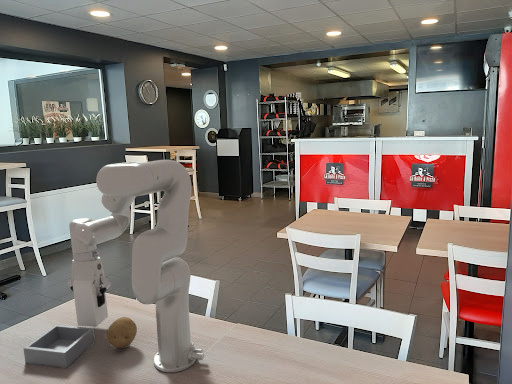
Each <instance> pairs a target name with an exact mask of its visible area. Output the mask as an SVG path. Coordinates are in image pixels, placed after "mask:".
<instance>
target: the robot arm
mask: <svg viewBox="0 0 512 384" xmlns="http://www.w3.org/2000/svg"><path fill="white" fill-rule="evenodd" d="M95 178H96V180H95V182H96V187H97V189H98V190H99V192H101V193H102V196H101V204H102V205H103V207H104V208H105V209H106V210H107V211H108V212H110V213H111V215H109V216H106V217H104V218H103V217H102V218H99V219H98V218H97V219H96V220H94V219H92V218H90V217H80V218H76V219H75V218H74V219H73V220H70V222H69V226H68V227H69V234H70V235H69V236H70V243H71V249H72V250H71V251H72V258H73V259H72V260H71V278H70V279H68V281H67V282H66V285H67V286H68V287H69V288H70V290H71V291H72V292H73V293H74V291H73V282H74V280H82V281H92V280H93V283H94V287H95V289H96V292H97V294H98V296H97V303H98V307H101V306H102V305H103V304H105V296H104V293H105V294H106V292H107V291H108V289H109V288H110V287H111V285H112V283H111V281H109V280H108V279H107V278H106V274H105V269H104V265H103V261H102V259H101V257H100V255H101V253H100V251H98V247H97V245H99V244H101V243H105V242H108V241H110V240H115V239H118V237H120V236H121V235H122V234H123V233H124V232H125V231H126V229H127V228H128V226H129V225H130V223H131V219H132V213H131V212H132V211H131V209H130V207H131V206H132V203H133V202H134V200H135V199H136V198H137V197H140V196H146V195H151V194H154V193H159V192H160V193H161V192H164V193H163V195H162V198H161V199H160V201H159V204H158V207H157V217H156V218H157V219H156V225H155V227H153V228H151V229H148V230H145V231H143V232H141V233H140V234H139V235H137V236H136V238H135V240H134V242H133V245H132V251H131V289H132V294H133V295H134V297H135V298H136V300H137V301H138V302H139V303H141V305H142V304H143V305H153V304H155V319H156V320H155V321H156V333H157V334H156V336H157V346H158V347H157V349H158V351H157V352H156V354H155V355H154V357H153V365H154V367H155V368H156V369H158V370H159V371H161V372H164V373H165V372H166V373H177V372H181V371H184V370H187V369H189V368H191V366H192V365H194V364H195V363H196V361H203V360H204V357H205V353H204V352H203V351H204V349H203V348H196V347H195V343H194V342H192V341H191V325H190V324H191V323H190V322H191V320H190V308H189V305H190V303H189V301H190V300H189V299H190V298H189V295H190V294H189V291H190V283H191V269H190V266H189V264H188V263H187V261H186V260H184V259H182V258H181V257H178V256H180V255H181V254H183V253H185V251H186V250H187V245H188V233H189V232H188V231H189V214H190V213H189V211H190V202H191V197H192V190H193V189H192V179H191V176H190V173H189V171H188V169H186V167H185V166H184V165H183V164H181V163H180V162H179V161H176V160H173V159H158V160H152V161H145V162H134V161H127V162H119V163H111V164H106V165H104V166H102V167H101V168H100V170H99V171H98V172H97V175H96V177H95ZM100 281H101V282H102V284H104V285H105V286H104V287H103V285H102V284H101V282H100ZM99 284H100V285H99ZM99 287H100V289H99ZM100 290H101V291H100Z"/></svg>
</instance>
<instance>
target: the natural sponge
mask: <svg viewBox="0 0 512 384" xmlns="http://www.w3.org/2000/svg"><path fill="white" fill-rule="evenodd" d="M137 331H138V328H137V324H136V322H135V321H134V320H133V319H131V318H129V317H126V316H123V317H120V318H117V319H116V320H115V321H113V322H112V323H111V324H110V326H108V329H107V333H106V337H107V342H108V343H109V345H110V346H112V347H115V348H120V349H125V348H128V347H129V346H130V345H131V344H132V343H133V341H134V340H135V338H136V336H137Z"/></svg>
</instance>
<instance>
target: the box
mask: <svg viewBox="0 0 512 384" xmlns="http://www.w3.org/2000/svg"><path fill="white" fill-rule="evenodd" d="M95 343H96V339H95V330H94V327H87V326H74V325H64V324H54V325H53V326H52V327H50V328H49V329H48V330H46V331H45V332H44V333H42V334H41V335H40V336H38V337H37V338H36V339H34V340H33V341H31V342H29V344H27V345H26V346H24V347H23V355H24V361H25V364H29V365H37V366H45V367H52V368H59V369H68V368H69V367H70V366H71V365H72V364H73V363H75V361H76V360H78V359H79V358H80V357H81V356H82V355H83V354H84V353H85V352H86V351H87V350H88V349H90V348H91V347H92V346H93V345H94V344H95Z"/></svg>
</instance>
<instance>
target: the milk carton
mask: <svg viewBox="0 0 512 384" xmlns="http://www.w3.org/2000/svg"><path fill="white" fill-rule="evenodd" d="M100 282H101V281H100ZM101 284H102V282H101ZM99 285H100V284H99ZM102 285H103V287H104V286H105V285H104V284H102ZM99 289H100V287H99ZM73 291H74V292H73ZM73 291H72V292H73V299H74V306H75V314H76V315H75V316H76V320H77V327H89V328H94V327H95V328H97V327H98V326H99V325H100V324H101V323H103V322H104V321H105V320H107V319H108V318H109V313H108V304H107V296H106V295H107V294H106V292H105V293H104V296H105V304H103V305H102V306H101V307H98V303H97V296H98V294H97V292H96V289H95V287H94V283H93V280H92V281H82V280H74V282H73ZM100 291H101V290H100Z"/></svg>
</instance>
